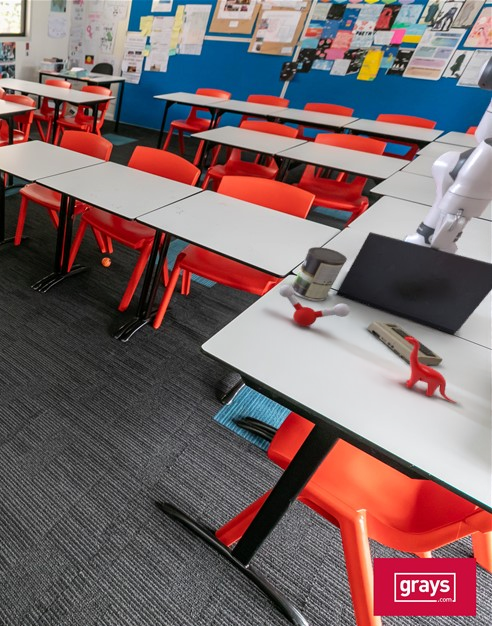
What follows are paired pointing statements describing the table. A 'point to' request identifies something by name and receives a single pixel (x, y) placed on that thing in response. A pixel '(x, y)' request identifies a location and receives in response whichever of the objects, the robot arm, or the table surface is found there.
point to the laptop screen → (418, 280)
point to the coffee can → (318, 273)
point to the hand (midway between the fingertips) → (430, 252)
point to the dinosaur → (424, 373)
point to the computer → (402, 342)
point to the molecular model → (308, 315)
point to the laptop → (397, 313)
